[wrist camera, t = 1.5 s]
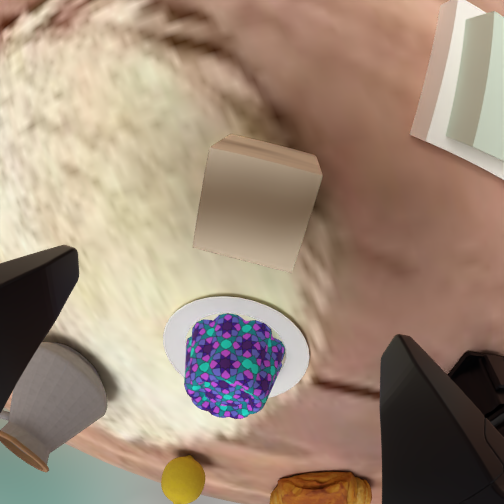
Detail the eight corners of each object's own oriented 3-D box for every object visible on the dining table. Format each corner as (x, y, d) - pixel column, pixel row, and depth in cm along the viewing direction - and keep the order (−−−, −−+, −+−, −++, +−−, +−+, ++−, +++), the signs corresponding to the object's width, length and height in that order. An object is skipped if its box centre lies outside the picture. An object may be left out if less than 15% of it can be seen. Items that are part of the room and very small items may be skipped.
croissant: (362, 484, 42) (370, 522, 35) (271, 498, 43) (274, 538, 36) (375, 451, 35) (387, 500, 28) (261, 470, 36) (263, 522, 29)
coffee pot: (119, 360, 28) (53, 487, 15) (114, 412, 34) (70, 509, 21) (-26, 274, 27) (-105, 350, 14) (-11, 336, 32) (-68, 407, 19)
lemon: (173, 458, 38) (158, 504, 31) (168, 442, 35) (151, 493, 28) (210, 467, 38) (199, 514, 31) (209, 451, 35) (196, 504, 28)
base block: (509, 183, 17) (533, 197, 14) (406, 133, 17) (425, 141, 14) (538, 72, 12) (564, 74, 10) (437, 6, 12) (458, -4, 10)
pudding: (340, 343, 24) (345, 395, 20) (253, 408, 30) (246, 452, 25) (210, 260, 22) (188, 306, 18) (145, 350, 27) (124, 392, 23)
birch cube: (293, 231, 20) (291, 273, 16) (215, 211, 20) (192, 247, 16) (315, 154, 18) (322, 175, 13) (231, 133, 18) (209, 147, 13)
